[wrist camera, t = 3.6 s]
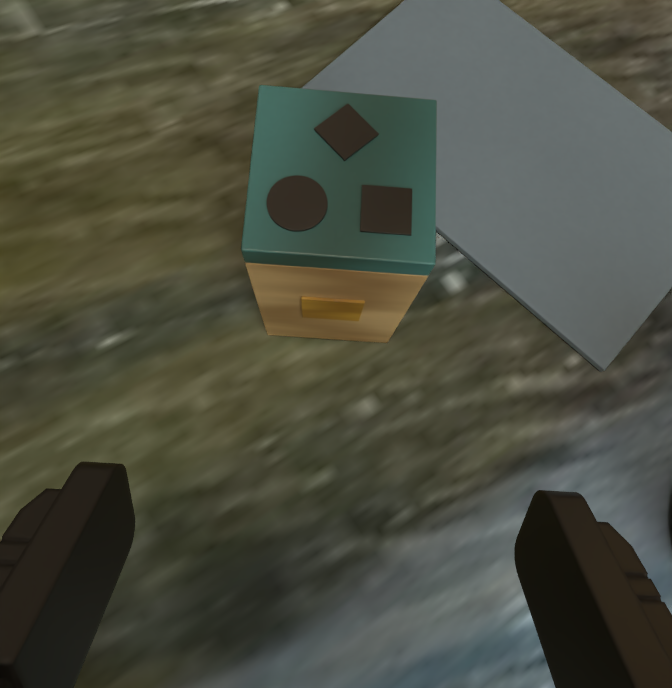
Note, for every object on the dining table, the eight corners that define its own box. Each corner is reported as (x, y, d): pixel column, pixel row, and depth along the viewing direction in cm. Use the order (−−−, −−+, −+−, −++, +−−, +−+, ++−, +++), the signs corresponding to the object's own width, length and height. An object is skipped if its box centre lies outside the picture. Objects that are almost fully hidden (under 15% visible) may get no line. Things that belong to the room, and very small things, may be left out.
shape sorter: (266, 337, 25) (239, 252, 15) (277, 222, 27) (258, 78, 17) (387, 345, 25) (436, 267, 15) (391, 231, 27) (438, 93, 17)
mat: (287, 104, 28) (287, 99, 28) (447, -32, 31) (449, -38, 31) (600, 372, 25) (605, 370, 25) (744, 194, 28) (749, 191, 28)
